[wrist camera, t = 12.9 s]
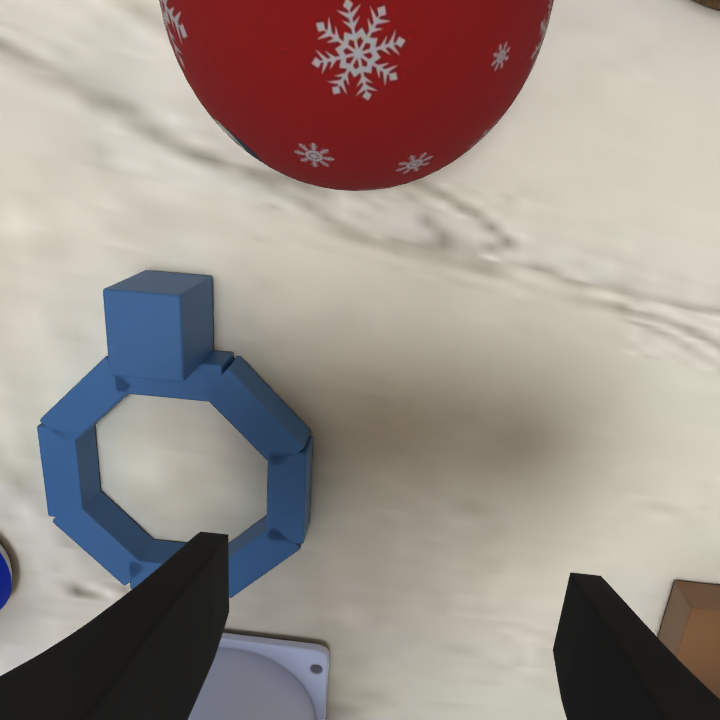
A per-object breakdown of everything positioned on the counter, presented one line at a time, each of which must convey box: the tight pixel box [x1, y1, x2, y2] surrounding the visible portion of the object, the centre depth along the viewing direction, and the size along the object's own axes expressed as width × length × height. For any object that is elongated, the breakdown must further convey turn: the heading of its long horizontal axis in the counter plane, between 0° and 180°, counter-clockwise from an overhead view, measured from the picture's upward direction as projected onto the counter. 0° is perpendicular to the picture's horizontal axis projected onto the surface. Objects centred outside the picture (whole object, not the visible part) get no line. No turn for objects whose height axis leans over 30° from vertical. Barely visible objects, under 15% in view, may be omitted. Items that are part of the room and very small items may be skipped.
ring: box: [37, 270, 313, 598], centre depth 21 cm, size 12×10×3 cm
